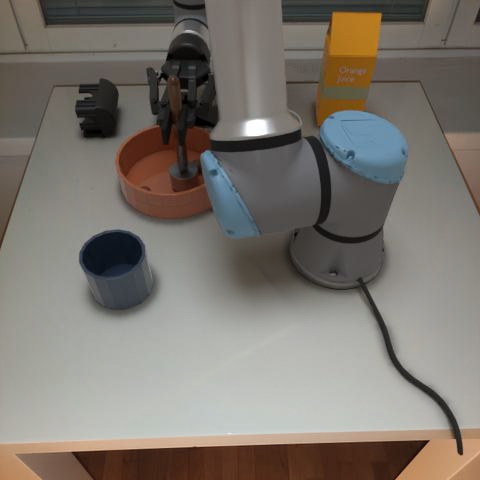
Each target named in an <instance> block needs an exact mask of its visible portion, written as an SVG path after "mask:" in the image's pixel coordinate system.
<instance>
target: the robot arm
mask: <svg viewBox="0 0 480 480" xmlns="http://www.w3.org/2000/svg"><path fill="white" fill-rule="evenodd" d="M172 8H173V18H174V26H173V30H172V33H171V34H172V35H171V38H170V41H169V46H168V50H167V52H166V53H167V54H166V56H165V57H166V58H165V63H164V64H162V65H161V66H160V69H154V68H153V67H150V66H147V67H146V69H145V71H146V78H147V83H148V85H149V95H148V96H149V105H150V110H151V115H153V116H157V117H158V123H159V127H161V133H162V140H163V145H168V144H169V139H170V134H171V129H172V125H173V123H172V115H171V107H170V99H169V91H168V83H167V81H168V78H169V77H170V76H176V77H178V79H179V81H180V90H181V91H182V90H185V91H186V90H187V92H188V99H187V100H188V104H183V106H182V111H181V116H180V121H179V126H178V137H179V146H184V145H185V140H186V134H187V129H193V128H194V125H195V119H196V117H197V116H198V115H201V116H202V117H207V116H208V114H209V111H210V109H211V106H212V105H214V104H213V103H214V101H215V98H216V105H217V106H218V113H217V114H218V119H217V125H216V126H215V127H213V129H212V131H211V132H210V135H209V138H210V146H211V151H210V150H206V151H205V152H204V153H202V154H201V156H200V162H201V167H202V173H203V178H204V182H205V185H206V189H207V192H208V196H209V199H210V202H211V205H212V210H213V213H214V216H215V219H216V221H217V223H218V226H219V228H220V229H221V232H222V233H223V234H224V235H225V236H227V237H228V238H231V239H243V238H252V237H256V238H261V236H264V235H265V236H266V235H269V234H276V233H281V232H286V231H293V232H292V235H291V240H290V244H289V245H290V246H289V255H290V258H291V261H292V264H293V265H294V267H295V268H296V270H297V271H298V272H299V273H300V274H301V275H302V276H303V277H305V278H306V279H307V280H308V281H311V282H312V283H314V284H316V285H318V286H321V287H324V288H329V289H330V288H331V289H335V290H336V289H337V290H345V289H346V290H347V289H354V288H358V287H361V289H362V291H363V293H364V295H365V297H366V299H367V301H368V303H369V306H370V307H371V310H372V311H373V313H374V315H375V316H376V319H377V322H378V323H379V326H380V329H381V331H382V334H383V338H384V341H385V344H386V348H387V352H388V354H389V356H390V358H391V360H392V362H393V364H394V366H395V367H396V368H397V369H398V371H399V372H400V373H401V374H402V375H403V376H404V377H405V378H406V379H407V380H409V381H410V382H411V383H413V384H414V385H416V387H419V388H421V389H422V390H423V391H424V392H426V393H427V394H429V395H430V396H431V397H432V398H433V399H435V400H436V402H437V403H438V404H439V405H440V406H441V408H442V409H443V410H444V412H445V414H446V415H447V417H448V419H449V420H450V423H451V426H452V429H453V432H454V433H453V434H454V437H455V438H454V439H455V442H456V451H457V452H456V453H457V454H458V455H459V456H463V455H464V444H463V438H462V433H461V430H460V426H459V423H458V421H457V418H456V416H455V415H454V413H453V411H452V409H451V408H450V406H449V405H448V403H447V402H446V401H445V400H444V399H443V397H441V396H440V395H439V393H437V392H436V391H435V390H433V389H432V388H431V387H429V386H428V385H426V383H423V382H422V381H420V380H419V379H417V378H416V377H415V376H413V375H412V374H411V373H410V372H409V371H407V369H406V368H405V367H404V366H403V364H401V362H400V361H399V359H398V358H397V355H396V353H395V350H394V347H393V345H392V341H391V338H390V334H389V331H388V328H387V325H386V323H385V320H384V319H383V316H382V314H381V313H380V311H379V308H378V306H377V304H376V303H375V301H374V299H373V296H372V295H371V293H370V291H369V289H368V287H367V285H366V284H367V283H369V282H370V281H372V280H373V279H374V278H375V277H376V276H377V274H378V273H379V271H380V269H381V267H382V265H383V262H384V259H385V254H386V246H385V241H384V226H385V224H386V223H385V222H386V220H387V217H388V214H389V212H390V209H391V206H392V203H393V201H394V198H395V195H396V193H397V191H398V187H399V186H400V183H401V181H402V180H403V178H404V176H405V170H406V165H407V162H408V157H409V144H408V142H407V139H406V138H405V136H404V134H403V133H402V132H401V131H400V130H399V128H397V126H395V125H394V124H393V123H391V122H390V121H388V120H387V119H385V118H383V117H380V116H378V115H376V114H374V113H371V112H366V111H363V112H362V111H355V110H347V111H340V112H336V113H334V114H332V115H330V116H329V117H328V118H327V119H326V120H325V121H324V122H323V124H322V125H321V126H320V127H319V134H314V135H307V136H302V126H301V124H300V123H299V122H298V121H297V120H296V119H295V118H294V117H293V116H291V115H290V113H289V111H288V109H289V107H288V91H287V75H286V57H285V43H284V42H285V41H284V26H283V25H284V24H283V9H282V8H283V7H282V0H172ZM211 64H212V70H211V66H210V65H211ZM162 79H163V80H164V81H165V82H166V83H167V84H166V86H165V89H164V91H163V94H162V96H161V99H160V88H159V86H160V85H161V82H162ZM205 84H206V85H205ZM203 85H205V87H204V89H203V92H202V94H201V97H200V98H199V101H198V102H197V100H198V88H200V87H202V86H203Z"/></svg>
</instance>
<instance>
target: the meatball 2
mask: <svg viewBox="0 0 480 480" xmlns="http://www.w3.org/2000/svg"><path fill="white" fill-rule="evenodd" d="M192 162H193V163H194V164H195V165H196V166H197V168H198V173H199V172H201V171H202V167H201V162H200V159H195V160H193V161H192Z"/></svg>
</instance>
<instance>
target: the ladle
mask: <svg viewBox="0 0 480 480" xmlns="http://www.w3.org/2000/svg"><path fill="white" fill-rule="evenodd" d="M166 83H167V84H168V91H169V99H170V107H171V115H172V123H173V131H174V139H175V147H176V155H177V162H175V163H174V164H172V165H171V167H170V169H169V172H170V179H171V185H172V187H173V188H174V189H175V190H176V191H179V192H181V191H186V190H190V189H193V188H195V187H197V186H198V184H199V178H198V168H197V166H196V165H195V164H194V163H193V162H191V161H188V158H187V148H186V140H185V145H184V146H179V137H178V126H179V121H180V116H181V111H182V100H181V92H182V89H181V90H180V81H179V79H178V77H176V76H170V77H169V78H168V81H167V82H166Z"/></svg>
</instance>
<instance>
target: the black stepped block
mask: <svg viewBox="0 0 480 480" xmlns="http://www.w3.org/2000/svg"><path fill="white" fill-rule="evenodd" d="M187 99H188V91H181V100H182V106H183V104H188V100H187ZM197 103H199V100H198V99H197ZM218 114H219V113H218V105H217V104H212V106H211V109H210V111H209V114H208V116H207V117H202V116H201V115H198V116H197V117H196V119H195V125H194V126H196V127H199V128H202V127H203V128H214V127H215V126H216V125H217V123H218ZM156 125H159V123H158V116H157V117H156ZM156 125H155V126H156Z"/></svg>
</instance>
